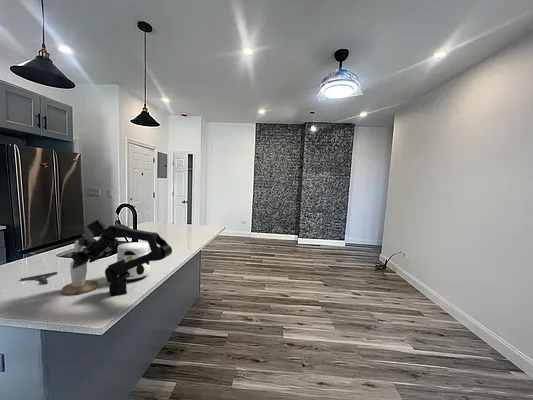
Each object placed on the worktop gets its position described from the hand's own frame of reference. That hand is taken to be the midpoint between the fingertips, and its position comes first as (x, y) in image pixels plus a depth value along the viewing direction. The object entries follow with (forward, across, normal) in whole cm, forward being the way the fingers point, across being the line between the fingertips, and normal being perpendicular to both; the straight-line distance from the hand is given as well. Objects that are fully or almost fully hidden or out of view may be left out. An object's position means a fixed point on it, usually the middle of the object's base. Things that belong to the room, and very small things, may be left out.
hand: (81, 264), depth 119 cm
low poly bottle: (+8, 0, +6) cm, 11 cm away
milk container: (-1, -20, +18) cm, 27 cm away
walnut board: (+9, 0, +8) cm, 12 cm away
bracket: (+28, -5, -10) cm, 30 cm away
